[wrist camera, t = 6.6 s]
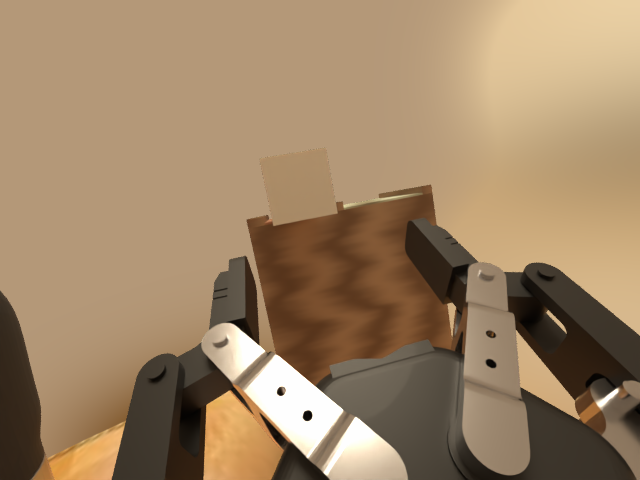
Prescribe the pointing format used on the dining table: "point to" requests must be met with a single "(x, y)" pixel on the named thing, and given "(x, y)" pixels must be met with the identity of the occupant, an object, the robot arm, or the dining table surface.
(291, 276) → the brown patterned box
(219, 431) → the dining table surface
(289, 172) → the block
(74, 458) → the dining table surface
